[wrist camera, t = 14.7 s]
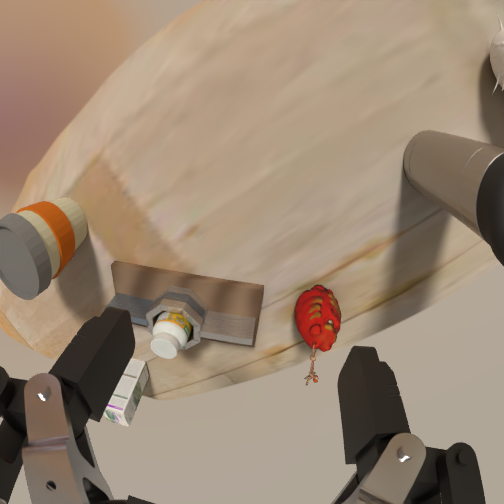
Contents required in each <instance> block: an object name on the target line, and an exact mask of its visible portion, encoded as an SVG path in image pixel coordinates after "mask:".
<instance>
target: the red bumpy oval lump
mask: <svg viewBox="0 0 504 504" xmlns="http://www.w3.org/2000/svg"><path fill="white" fill-rule="evenodd" d="M311 289H312V290H306V291H304V292H303V293H302V294H301V295H300V296H299V298H298V300H297V303H296V309H295V319H296V325H297V328H298V331H299V333H300V334H301V336H302V337H303V339H304V340H305V342H306V343H307V344H308V345H309V346H310V347H311V348H313V354H312V355H311V356H310V359H311V360H312V363H311V369H310V373H309V375H308V376H307V377H305V378H304V379H307V378H308V377H309V378H308V380H307V382H306V385H308V382H309V380H310V379H312V378H313V376H314V378H313V381H314V382H318V376H317V375H315V372H314V373H313V369H314V368H313V364H314V361H315V360H316V358H315V357H314V356H315V352H316V349H320V350H321V351H323V352H325V351H328V350H330V349H331V347H332V344H333V343H335V341H336V338H337V333H338V332H339V330H340V323H341V311H340V308H339V305H338V301H337V299H335V297H334V296H333V292H332V291H331V290H330V289H326V288H324V287H323V286H322V285H315V286H314V287H312V288H311Z"/></svg>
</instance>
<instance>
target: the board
mask: <svg viewBox="0 0 504 504" xmlns="http://www.w3.org/2000/svg"><path fill="white" fill-rule="evenodd" d="M111 269H112V276H113V282H114V288H115V294H117V293H122V294H126V295H131V296H135V297H140V298H145V299H149V300H155V298H156V297H157V295H159V294H160V293H161V292H163V291H164V290H166V289H167V288H168V287H170V286H176V287H182V288H187V289H192V290H193V291H194V292H195V293H196V294H197V295H198V296H199V297H200V298H201V299H202V300H203V301H204V302H205V303H206V304H207V305H208V309H207V310H208V311H213V312H220V313H226V314H232V315H238V316H245V317H252V318H256V319H255V327H254V334H253V341H252V345H246V344H239V343H233V342H227V341H221V340H215V339H209V338H204V337H202V339H207V340H213V341H219V342H225V343H231V344H237V345H244V346H250V347H254V344H255V338H256V332H257V326H258V320H259V314H260V308H261V303H262V297H263V290H264V285H258V284H251V283H245V282H238V281H231V280H225V279H218V278H212V277H206V276H200V275H193V274H187V273H181V272H175V271H169V270H163V269H158V268H152V267H146V266H141V265H135V264H130V263H124V262H119V261H114V262H113V263H112V265H111ZM132 324H136V325H140V326H145V327H148V326H146V325H142V324H137V323H133V322H132Z"/></svg>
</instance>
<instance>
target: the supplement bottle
mask: <svg viewBox="0 0 504 504" xmlns="http://www.w3.org/2000/svg"><path fill="white" fill-rule="evenodd" d="M192 327H193V325H192V324H191V323H190V322H189V321H188V320H186V319H185V318H184V317H183V316H182V315H181V314H178V313H173V312H168V311H162V312H161V314H160V316H159V317H158V319H157V321H156V323H155V325H154V327H153V331H152V333H153V339H152V342H151V349H152V350H153V352H154V353H155V354H157V355H158V356H160V357H162V358H166V359H172V358H174V357H176V355H177V353H178V351H179V349H181V348H183V347H184V346H185V345H186V343H187V340H188V338H189V335H190V332H191V330H192Z"/></svg>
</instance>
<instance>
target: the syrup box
mask: <svg viewBox="0 0 504 504" xmlns="http://www.w3.org/2000/svg"><path fill="white" fill-rule="evenodd" d="M148 379H149V373H148V369H147V365H146V362H145V361H142V360H138V359H134V358H131V360H130V361H129V363H128V365H127V367H126V369H125V371H124V373H123V375H122V377H121V379H120V381H119V383H118V385H117V387H116V389H115V391H114V393H113V395H112V397H111V399H110V401H109V403H108V405H107V407H106V409H105V411H104V413H103V414H104V416H105V417H106V419H107V420H110V421H112V422H114V423H117V424H120V425H124V426H130V423H131V421H132V419H133V416H134V414H135V411H136V409H137V406H138V404H139V401H140V398H141V396H142V394H143V391H144V389H145V386H146V384H147V382H148Z"/></svg>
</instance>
